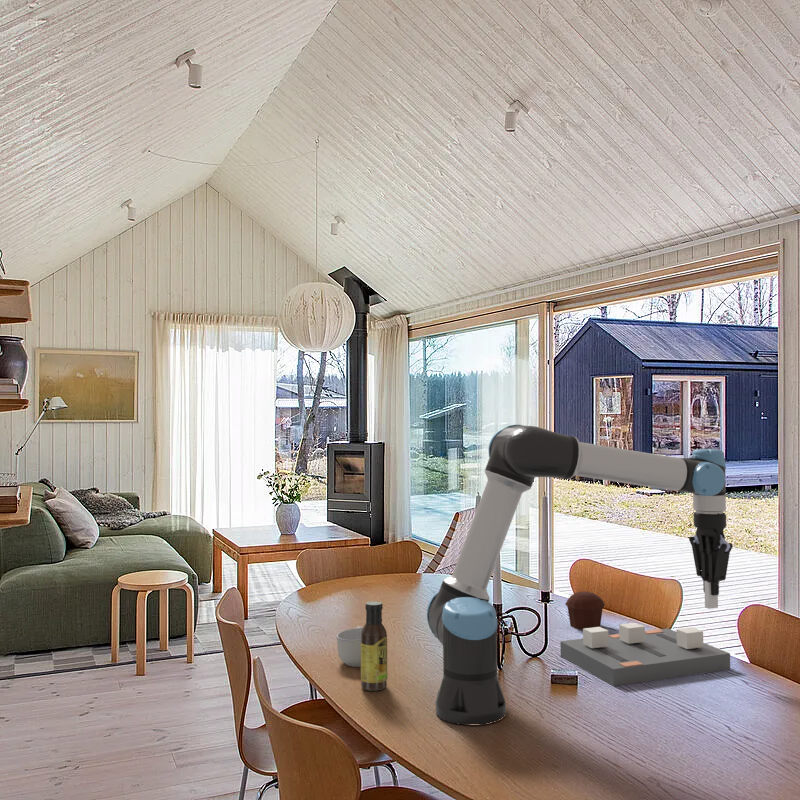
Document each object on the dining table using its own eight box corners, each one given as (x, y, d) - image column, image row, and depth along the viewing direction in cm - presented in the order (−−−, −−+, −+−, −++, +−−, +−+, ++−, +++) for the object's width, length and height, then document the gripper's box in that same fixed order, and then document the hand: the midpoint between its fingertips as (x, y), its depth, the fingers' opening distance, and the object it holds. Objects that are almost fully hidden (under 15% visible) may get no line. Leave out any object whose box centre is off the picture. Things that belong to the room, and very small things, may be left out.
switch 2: (703, 647, 200) (703, 631, 200) (687, 649, 199) (686, 633, 199) (692, 642, 204) (692, 627, 204) (676, 644, 203) (676, 629, 203)
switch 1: (608, 646, 202) (608, 630, 202) (591, 648, 200) (591, 632, 200) (599, 642, 206) (599, 626, 206) (583, 644, 204) (583, 628, 204)
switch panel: (730, 669, 196) (730, 652, 196) (613, 686, 185) (613, 668, 185) (668, 642, 219) (667, 627, 219) (560, 656, 208) (560, 640, 208)
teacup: (373, 671, 198) (372, 639, 198) (331, 669, 200) (331, 637, 200) (385, 654, 211) (385, 624, 211) (346, 652, 213) (346, 622, 214)
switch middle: (645, 641, 205) (644, 626, 205) (628, 643, 204) (628, 628, 204) (635, 637, 209) (635, 622, 209) (619, 639, 208) (619, 624, 208)
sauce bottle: (383, 693, 182) (383, 607, 182) (357, 691, 184) (357, 605, 184) (390, 683, 188) (389, 600, 189) (365, 682, 190) (364, 599, 190)
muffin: (592, 619, 244) (591, 587, 244) (612, 628, 233) (612, 595, 234) (558, 623, 240) (558, 590, 240) (577, 633, 230) (577, 598, 230)
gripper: (741, 514, 189) (743, 612, 189) (703, 507, 202) (705, 600, 202) (715, 515, 187) (717, 615, 187) (679, 509, 199) (681, 602, 199)
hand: (711, 607), depth 194 cm, fingers closed
